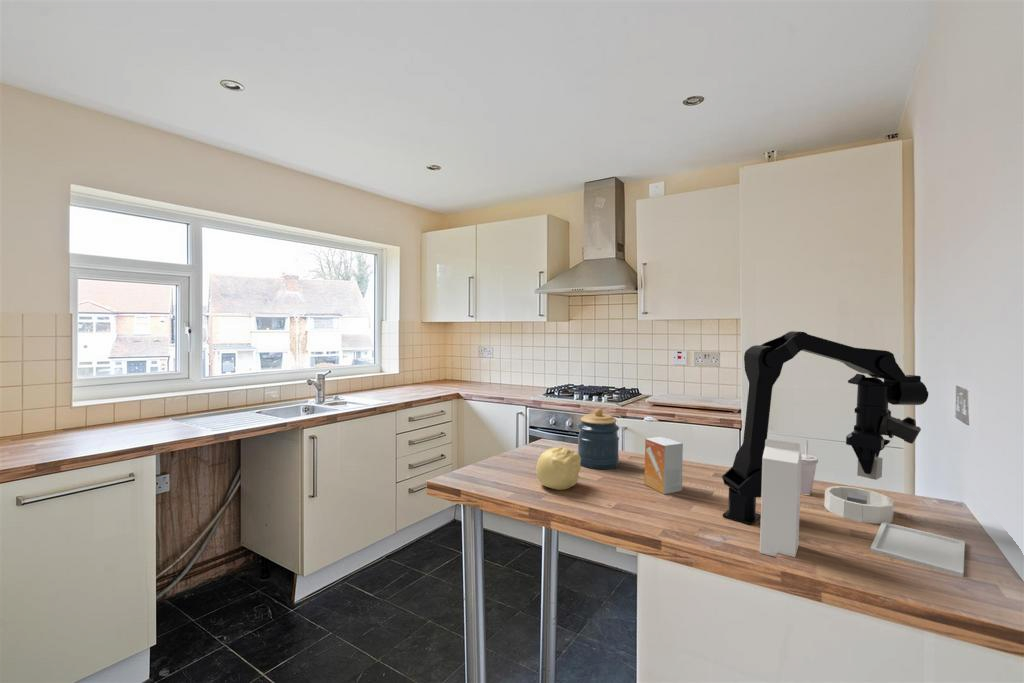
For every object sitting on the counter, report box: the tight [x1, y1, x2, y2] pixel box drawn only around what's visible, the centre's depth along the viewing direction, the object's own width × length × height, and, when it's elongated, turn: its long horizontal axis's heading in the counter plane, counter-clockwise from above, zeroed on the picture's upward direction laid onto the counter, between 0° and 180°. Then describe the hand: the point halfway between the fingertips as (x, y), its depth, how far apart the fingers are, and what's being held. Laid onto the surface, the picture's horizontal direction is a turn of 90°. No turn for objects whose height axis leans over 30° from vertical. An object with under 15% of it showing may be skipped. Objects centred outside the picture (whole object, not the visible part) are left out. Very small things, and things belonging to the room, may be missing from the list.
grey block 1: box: [847, 492, 867, 504], centre depth 108 cm, size 4×4×4 cm
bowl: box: [824, 485, 895, 525], centre depth 110 cm, size 13×13×5 cm
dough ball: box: [535, 445, 582, 491], centre depth 129 cm, size 12×12×11 cm
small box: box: [643, 436, 684, 495], centre depth 127 cm, size 8×6×13 cm
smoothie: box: [800, 440, 819, 495], centre depth 124 cm, size 6×6×14 cm
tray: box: [869, 522, 966, 578], centre depth 92 cm, size 17×13×2 cm
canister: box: [577, 407, 620, 470], centre depth 149 cm, size 13×13×18 cm
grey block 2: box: [857, 456, 884, 481], centre depth 108 cm, size 4×4×4 cm
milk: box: [759, 438, 802, 558], centre depth 92 cm, size 6×6×22 cm
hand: (869, 471), depth 108 cm, fingers closed on grey block 2, 4 cm apart
